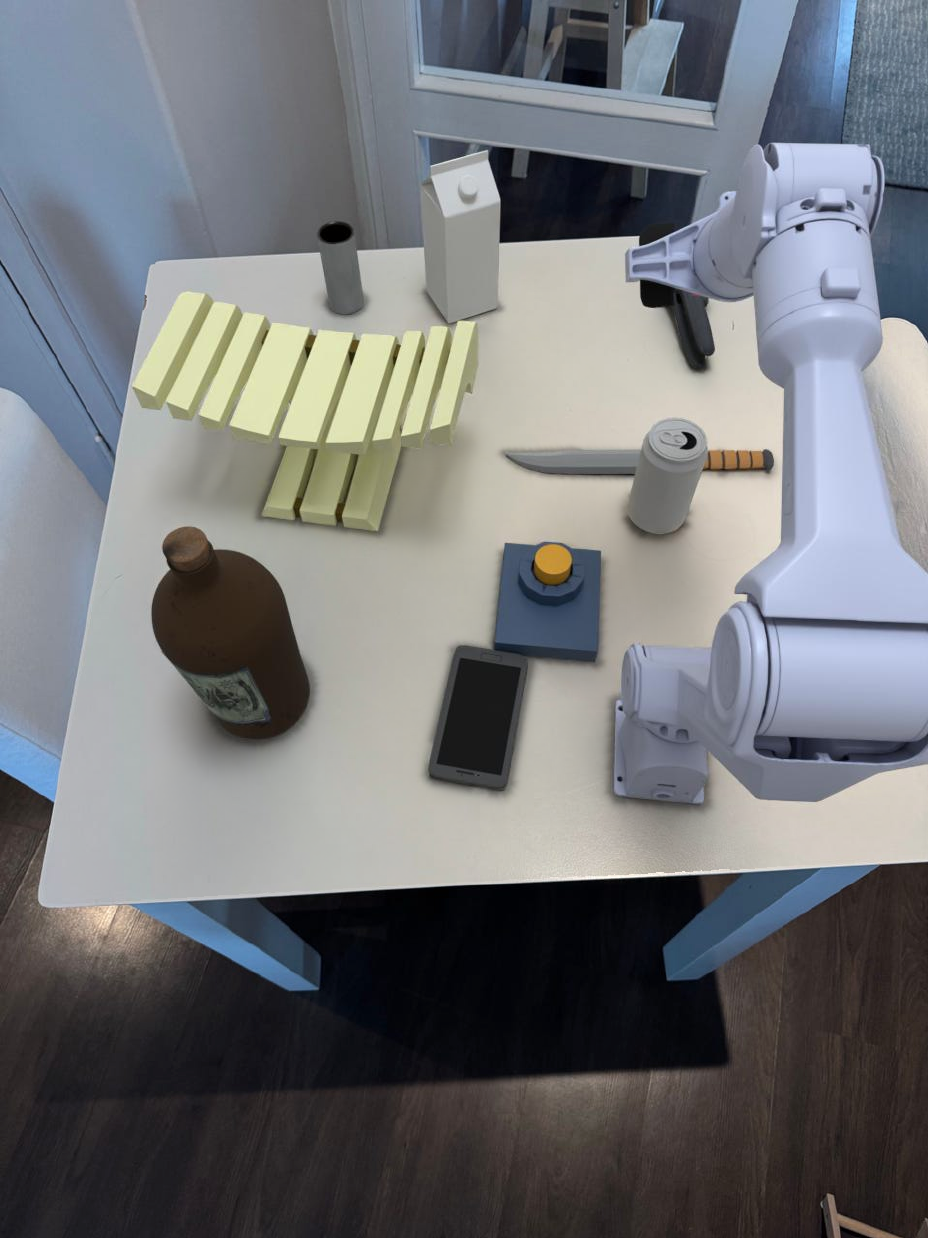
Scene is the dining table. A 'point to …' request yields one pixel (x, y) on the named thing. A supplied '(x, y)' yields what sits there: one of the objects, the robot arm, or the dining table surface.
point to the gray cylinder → (340, 267)
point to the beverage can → (667, 475)
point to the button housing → (549, 606)
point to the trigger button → (552, 564)
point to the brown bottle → (229, 635)
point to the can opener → (693, 326)
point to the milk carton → (461, 236)
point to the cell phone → (479, 717)
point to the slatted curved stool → (312, 399)
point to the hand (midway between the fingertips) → (703, 276)
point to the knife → (629, 461)
